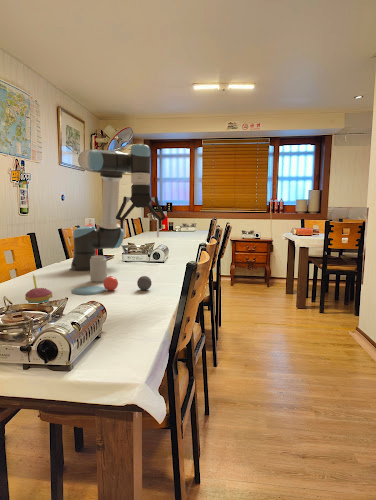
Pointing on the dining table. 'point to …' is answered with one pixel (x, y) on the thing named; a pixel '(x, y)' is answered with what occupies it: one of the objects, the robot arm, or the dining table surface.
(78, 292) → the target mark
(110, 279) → the object ball
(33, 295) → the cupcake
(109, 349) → the dining table surface
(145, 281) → the dark grey ball
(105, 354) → the dining table surface
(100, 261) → the can
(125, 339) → the dining table surface
